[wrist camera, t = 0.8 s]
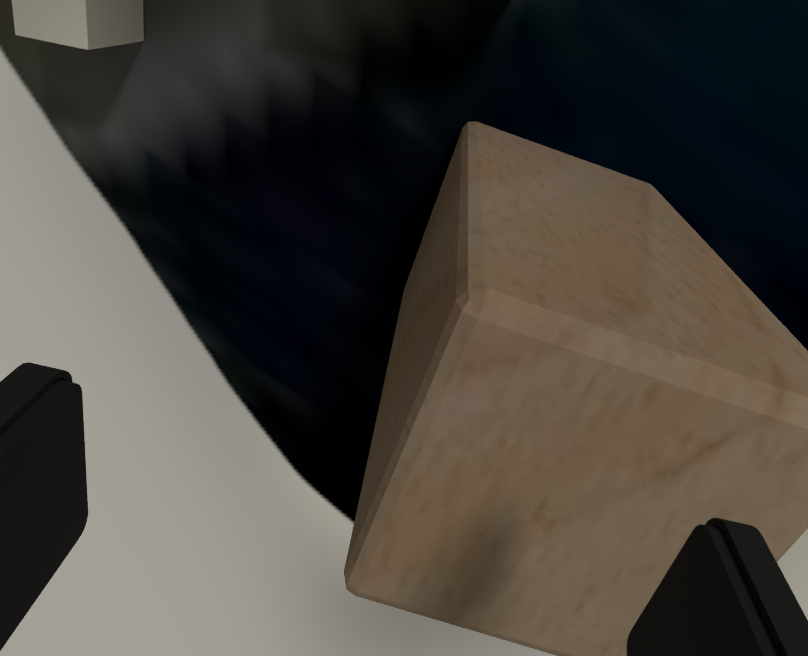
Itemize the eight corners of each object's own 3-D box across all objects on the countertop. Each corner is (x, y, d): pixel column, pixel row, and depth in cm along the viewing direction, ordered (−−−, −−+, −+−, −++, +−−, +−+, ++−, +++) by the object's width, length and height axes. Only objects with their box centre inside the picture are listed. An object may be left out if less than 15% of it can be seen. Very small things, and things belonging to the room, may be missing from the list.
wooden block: (402, 293, 35) (336, 598, 18) (466, 116, 30) (463, 290, 13) (569, 349, 36) (667, 696, 18) (657, 184, 31) (904, 438, 13)
